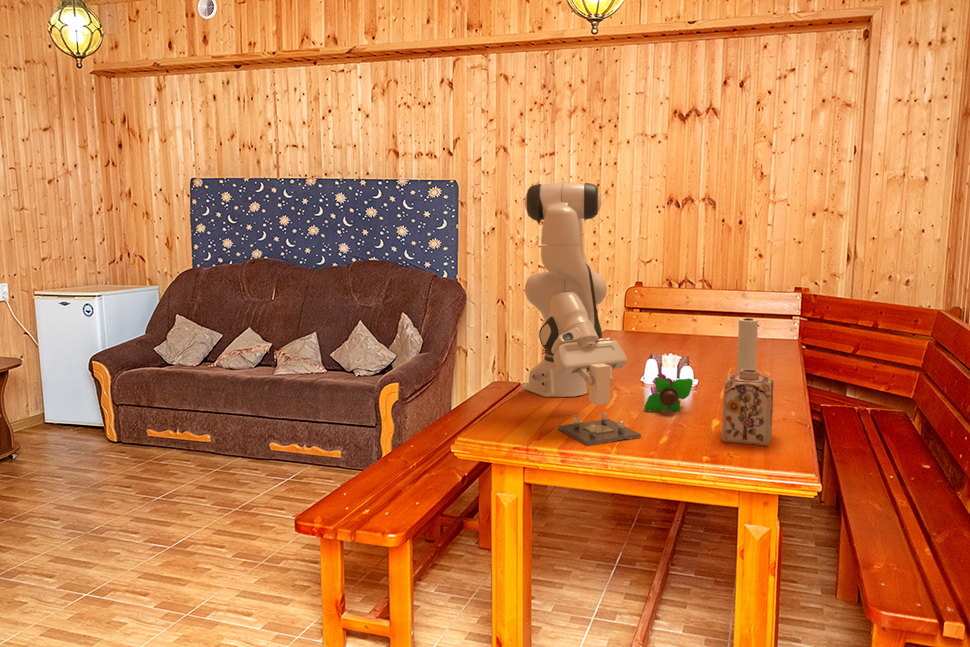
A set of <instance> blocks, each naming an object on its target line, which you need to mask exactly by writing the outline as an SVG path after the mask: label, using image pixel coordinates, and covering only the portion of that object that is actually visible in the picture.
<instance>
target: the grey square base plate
mask: <svg viewBox="0 0 970 647" xmlns="http://www.w3.org/2000/svg"><path fill="white" fill-rule="evenodd" d="M600 414H601V415H600V416H601V417H600V419H598V420H593V421H591V420H590V421H585V422H580V421H581V420H580V415H575V416H573V423H569V424H561V425H557V430H559V431H560V432H562V433H564V434H565V435H567V436H569V437H570V438H573V439H574V438H575V440H576V441H578V442H580V443H582V444H583V445H585V446H593V445H594V444H595V445H600V444H599V443H602V444H605V443H604V442H609V441H615V442H617V441H616V440H622V441H624V440H623V439H629V440H631V439H630V438H636V439H639V438H638V437H641V436H642V434H641V433H639V431H638V432H637V431H635V430H633V429H631V428H629V427H626V426H625V420H621V419H620V420H619V419H618V421H617V422H615V421H614V420H612V419H609V418H608V412H601V413H600ZM641 438H642V437H641ZM609 443H610V442H609ZM595 445H594V446H595Z"/></svg>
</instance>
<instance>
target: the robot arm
mask: <svg viewBox="0 0 970 647" xmlns="http://www.w3.org/2000/svg"><path fill="white" fill-rule="evenodd" d="M601 206H602V195H601V192H600V191H599V188H598V186H597V185H596V184H593V183H590V182H589V183H588V182H584V183H582V182H574V181H573V182H568V181H566V182H565V181H564V182H563V181H562V182H554V183H552V182H551V183H545V184H542V183H538V184H533V185H531V186H530V187H529V188H527V192H526V194H525V197H524V207H525V210H526V213H527V216H528V217H529V218H531V220H533V221H536V222H537V224H538V225H540V224H541V221H543V222H542V229H541V238H540V241H541V242H540V244H541V245H540V256H541V257H540V258H541V263H542V265H543V267H544V268H545V269H546V270H547V271H544V272H543V271H542V272H538V273H532V274H531V275H529V277H528V278H527V279H526V281H525V285H524V294H525V297H526V299H527V301H528V302H529V303H530V304H531V305H532V306H534V308H536V309H537V310H538V311H539V312H540V313H541V315H542V317H543V318H544V321H545V322H544V323H543V324H542V325H541V327H540V329H539V332H538V338H539V341H540V344H541V345H542V347H543V350H541V352H542V353H541V354H542V355H544V357H543V360H542V361H540V362H539V363H538V364H537V365H535V366H534V367H532V368H531V369H530V371H529V375H528V382H524V383H523V384H522V385H521V389H523V390H526V391H529V392H532V393H534V394H537V395H539V396H542V397H546V398H549V397H550V398H551V397H552V398H553V397H561V398H563V397H567V398H568V397H570V398H571V397H577V396H583V395H585V394H587V393H589V392H588V391H589V390H588V388H587V385H588V386H589V385H594V383H595V379H594V377H593V376H590V375H589V367H590V365H593V364H606V365H609V366H610V384H611V383H612V382H613V381H614V378H613V375H612V372H613V371H612V370H616V369H617V370H618V369H623V367H625V365H626V363H627V362H628V356H626V353H625V352H624V350H623V348H622V347H621V346H620V344H619V342H618V341H617V340H615V339H613V338H611V337H607V338H603V331H602V326H601V323H600V320H599V315H598V308H597V305H599V304H601V303H602V302H603V301H604V299H605V298H606V295H607V290H608V288H607V283H606V280H605V279H604V277H603V276H602V274H600V273H598V272H596V271H595V270H594V269H593V267H592V266H591V265H590V264H589V263H588V262H589V261H588V260H587V258H586V256H585V249H584V230H583V228H584V227H583V224H584V223H583V219H584V220H585V221H586V220H592V219H594V218H595V217H596V216H598V213H599V211H600V210H601ZM586 383H587V384H586Z"/></svg>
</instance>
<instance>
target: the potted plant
mask: <svg viewBox="0 0 970 647" xmlns="http://www.w3.org/2000/svg"><path fill="white" fill-rule="evenodd" d="M652 383H653V384H654V385H653V386H652V385H651V386H650V393H651V394H650V395H649V396H648V397H647V400H646V402H645V405H644V411H645V410H651V411H650V412H652V411H661V412H660V413H662V412H664V411H665V409H667V410H669V411H671V412H680V410H681V401H680V400H684V399H687V398H688V397H689V396H690V393H691V391H692V387H693V379H692V378H683V379H681V378H679V379H676V380H675V379H672V378H670V377H667V376H666V374H663V373H662V372H659V373H658V374H657V375H656V377H655V378H654V379H653V380H652Z"/></svg>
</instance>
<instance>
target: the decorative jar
mask: <svg viewBox="0 0 970 647" xmlns="http://www.w3.org/2000/svg"><path fill="white" fill-rule="evenodd" d="M725 379H726V380H725V384H724V388H723V405H722V407H723V408H722V409H723V410H722V425H721V426H722V427H721V430H722V431H721V432H722V433H721V440H722V442H724V443H735V444H743V443H744V444H745V445H753V444H755V446H763V445H765V446H764V447H769V446H770V443H771V439H772V432H773V410H774V408H773V407H774V381H773V379H772V378H770V377H769V376H766V375H763V374H760V370H758V369H756V370H754V369H741V370H740V374H737V373H736V374H731V375H730V374H729V375H728V376H726V378H725ZM744 444H743V445H744Z"/></svg>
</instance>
